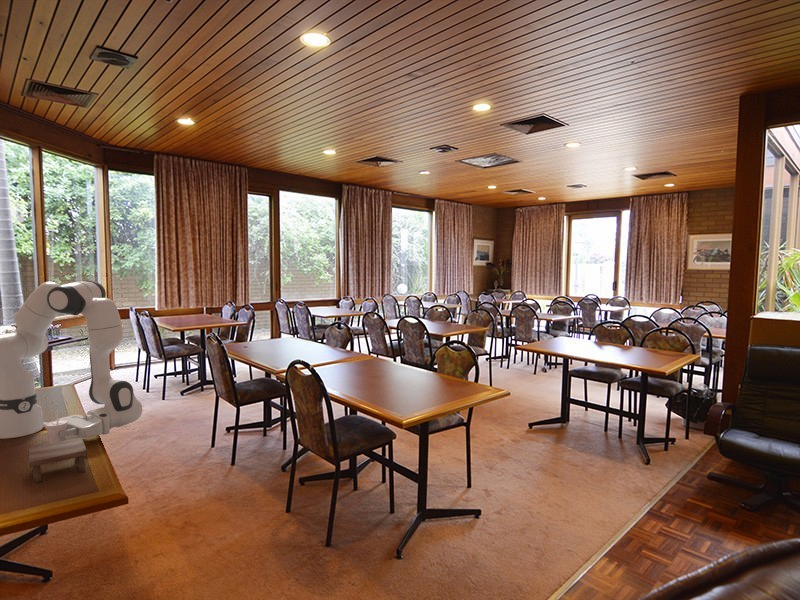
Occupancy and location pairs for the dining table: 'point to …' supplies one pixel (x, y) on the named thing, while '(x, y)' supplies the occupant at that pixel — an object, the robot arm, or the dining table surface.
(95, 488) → the dining table surface
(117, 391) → the robot arm
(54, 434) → the smoothie
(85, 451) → the stool
